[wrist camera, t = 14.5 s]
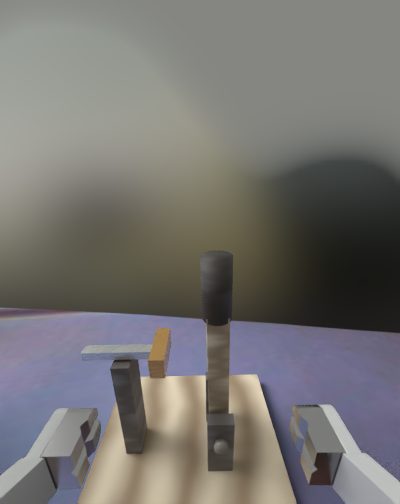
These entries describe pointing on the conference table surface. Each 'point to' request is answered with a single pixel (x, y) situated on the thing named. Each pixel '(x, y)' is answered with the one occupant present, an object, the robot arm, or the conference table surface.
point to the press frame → (186, 445)
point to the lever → (217, 324)
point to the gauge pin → (136, 353)
